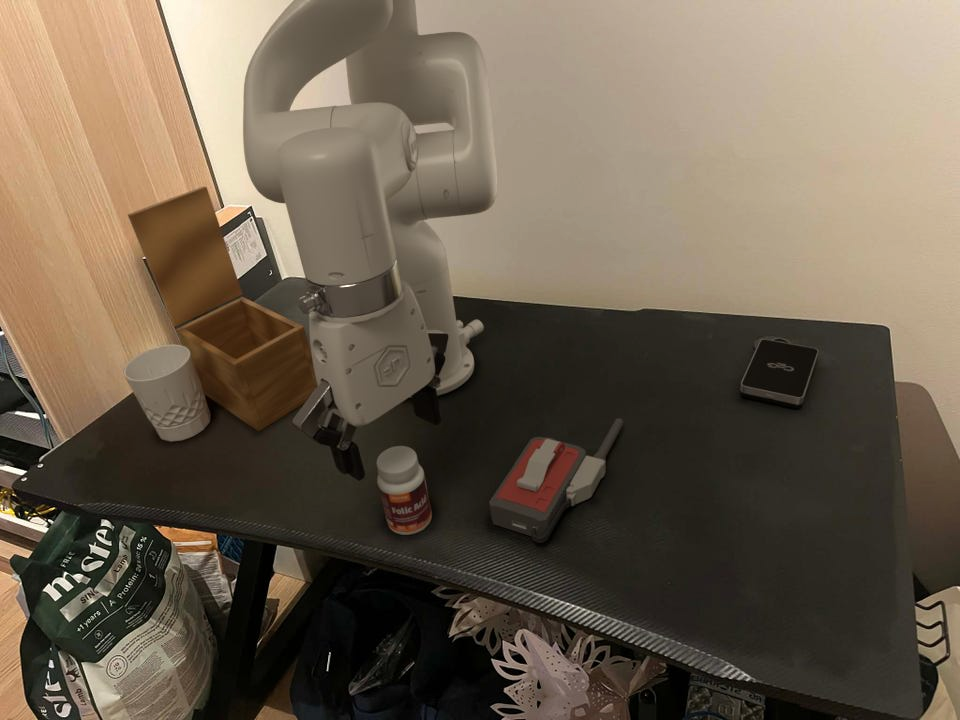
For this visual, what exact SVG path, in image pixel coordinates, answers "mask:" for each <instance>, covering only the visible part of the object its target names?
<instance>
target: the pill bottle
mask: <svg viewBox="0 0 960 720" xmlns="http://www.w3.org/2000/svg"><path fill="white" fill-rule="evenodd" d="M376 468H377V474H378V475H377V478H376V479H377V481H376V482H377V487H378V491H379V495H380V500H381V503H382V507H383V512H384V515H385V519H386V523H387V526H388V528H389V529H390V530H391V531H392V532H393V533H395V534H397V535H401V536H410V535H414V534H417V533H420V532H422V531H424V530H425V529H426V528H427V527H428V526H429V525H430V523H431V521H432V518H433V512H432V506H431V501H430V496H429V491H428V486H427V481H426V475H425V471H424V469H423V467H422V466H421V464H420V463H419V459H418V455H417V453H416V451H415V450H414V449H413V448H412V447H409V446H405V445H397V446H395V445H394V446H391V447H389V448H387V449H385V450H383V451H382V452H381V453H380V454H379V455H378V457H377V459H376Z"/></svg>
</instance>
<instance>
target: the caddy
mask: <svg viewBox="0 0 960 720" xmlns="http://www.w3.org/2000/svg"><path fill="white" fill-rule="evenodd" d="M175 331H176V334H177V336H178V338H179V341H180V343H181V344H180V345H182V346H185V347H187V348H188V349H189V350H190V353H191V356H192V359H193V362H194V365H195V367H196V370H197V373H198V376H199V379H200V382H201V385H202V389H203V391H204V394H205V397H206V398H209V399H210V400H212V401H213V402H215V404H218V405H219V406H221V407H222V408H223V409H224V410H226V411H227V412H229V413H231V414H232V415H234V416H235V417H237V418H238V419H240V420H241V421H242V422H244V423H245V424H247V425H248V426H250V427H251V428H253V429H254V430H255V431H257V432H260V431H262V430H264V429H265V428H267V427H268V426H269V425H271V424H273V423H275V422H276V421H278V420H280V419H281V418H282V417H284V416H286V415H288V414H290V413H291V412H293V411H294V410H295V409H297V408H299V407H301V406H303V405H304V404H305V403H306V401H307V400H308V399H309V397H310V396H311V395H312V393H313V392H314V391H315V389H316V388H317V387H318V385H317V381H316V376H315V371H314V366H313V360H312V354H311V346H310V343H309V340H308V336H307V333H306V330H305V326H304V325H301V324H299V323H297V322H295V321H293V320H292V319H289V318H287V317H285V316H283V315H281V314H279V313H277V312H275V311H273V310H271V309H268V308H266V307H264V306H262V305H260V304H258V303H257V302H254V301H252V300H250V299H248V298H246V297H244V296H240V297H239V298H237V299H235V300H232V301H231V302H230V301H229V302H227V304H226V303H225V305H224V304H223V305H221V306H220V307H218V308H216V309H214V310H212V311H210V312H207V313H206V314H204V315H202V316H200V317H197V318H195V319H194V320H191V321H189V322H188V323H185V324H182V325H181V326H179V327H177V328H175Z"/></svg>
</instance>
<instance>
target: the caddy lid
mask: <svg viewBox="0 0 960 720" xmlns="http://www.w3.org/2000/svg"><path fill="white" fill-rule="evenodd" d="M127 216H128V219H129V221H130V224H131V226H132V230H133V232H134V234H135V236H136V238H137V241H138V244H139V246H140V249H141V251H142V253H143V256H144V258H145V261H146V263H147V266H148V268H149V270H150V273H151V275H152V277H153V280H154V283H155V285H156V288H157V291H158V292H159V295H160V297H161V300H162V302H163V304H164V308H165V310H166V312H167V315H168V317H169V319H170V322H171V324H172V326H173V327H178V326H180V325H184V323H185V324H186V322H188V321H189V322H190V321H192V320H193V319H196V317H197V318H198V317H199V316H201V315H203V314H205V313H208V312H209V311H211V310H213V309H215V308H217V307H219V306H220V307H221V306H223V305H224V304H226V303H229V302H230V301H233V300H234V299H236V298H238V297H241V296H242V295H243V291H242V288H241V285H240V283H239V279H238V277H237V274H236V270H235V267H234V264H233V262H232V257H231V256H230V253H229V250H228V247H227V244H226V241H225V238H224V235H223V231H222V229H221V225H220V222H219V219H218V217H217V214H216V211H215V207H214V205H213V202H212V199H211V195H210V192H209V190H208V188H207V186H200V187H198V188H195V189H191V190H189V191H187V192H184V193H181V194H179V195H177V196H173V197H170V198H167V199H165V200H161V201H159V202H157V203H154V204H151V205H149V206H146V207H144V208H141V209H138V210H136V211H134V212H131V213H128V214H127Z"/></svg>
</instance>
